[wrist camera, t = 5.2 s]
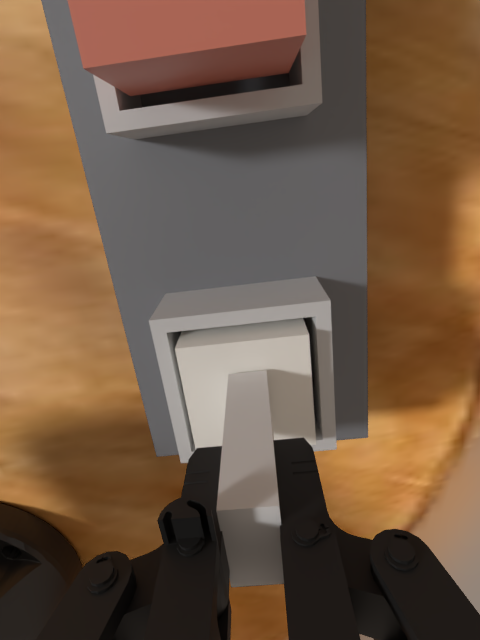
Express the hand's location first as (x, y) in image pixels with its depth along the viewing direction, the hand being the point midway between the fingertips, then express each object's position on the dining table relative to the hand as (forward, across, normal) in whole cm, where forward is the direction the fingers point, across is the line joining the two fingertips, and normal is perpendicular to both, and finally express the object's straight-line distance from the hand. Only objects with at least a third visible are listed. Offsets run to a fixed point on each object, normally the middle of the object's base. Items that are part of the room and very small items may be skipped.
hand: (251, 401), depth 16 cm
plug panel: (+10, 0, -7) cm, 12 cm away
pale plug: (+4, 0, 0) cm, 4 cm away
